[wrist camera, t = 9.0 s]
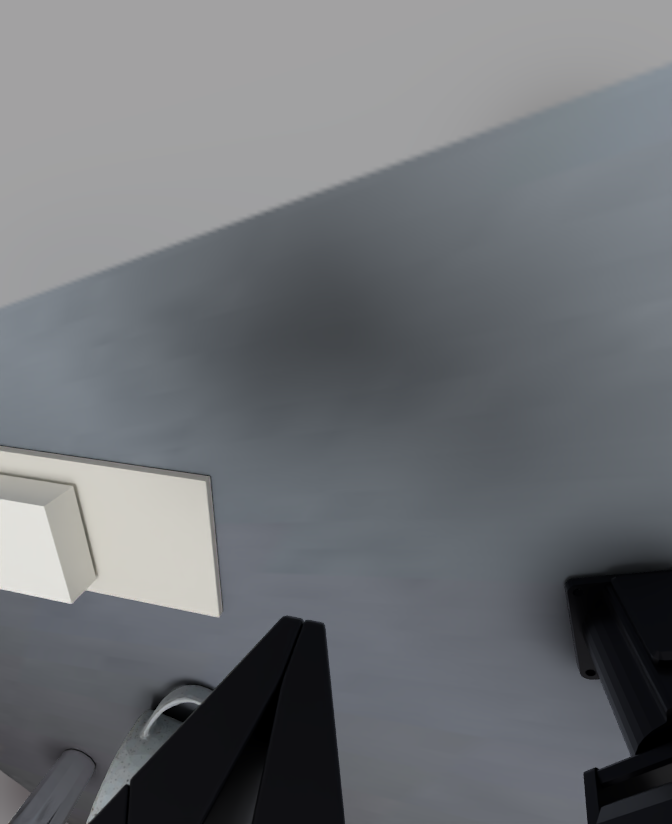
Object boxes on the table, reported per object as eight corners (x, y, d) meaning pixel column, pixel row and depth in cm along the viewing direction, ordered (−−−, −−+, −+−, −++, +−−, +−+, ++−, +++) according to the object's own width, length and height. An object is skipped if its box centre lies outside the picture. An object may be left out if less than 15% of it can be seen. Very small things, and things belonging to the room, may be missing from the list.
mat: (210, 476, 22) (205, 481, 22) (223, 611, 26) (219, 617, 26) (-89, 432, 26) (-98, 436, 25) (-38, 558, 29) (-46, 563, 29)
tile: (44, 506, 22) (-94, 482, 23) (71, 604, 24) (-53, 577, 26) (76, 483, 24) (-52, 463, 25) (99, 576, 26) (-19, 552, 28)
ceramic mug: (237, 779, 34) (189, 918, 27) (145, 742, 34) (74, 870, 27) (260, 700, 29) (209, 842, 22) (155, 660, 30) (73, 786, 23)
